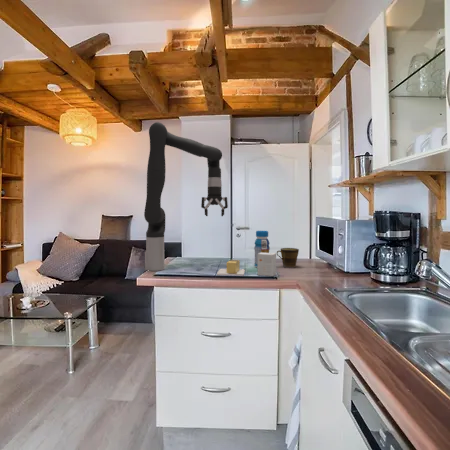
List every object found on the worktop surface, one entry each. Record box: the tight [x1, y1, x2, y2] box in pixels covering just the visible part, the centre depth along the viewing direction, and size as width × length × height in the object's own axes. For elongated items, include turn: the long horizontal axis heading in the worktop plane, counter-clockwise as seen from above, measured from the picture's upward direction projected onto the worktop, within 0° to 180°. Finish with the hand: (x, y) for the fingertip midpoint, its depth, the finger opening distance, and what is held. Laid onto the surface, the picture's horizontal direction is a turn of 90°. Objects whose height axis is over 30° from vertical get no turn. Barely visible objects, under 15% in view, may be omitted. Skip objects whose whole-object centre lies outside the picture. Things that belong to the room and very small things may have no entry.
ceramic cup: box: [276, 247, 300, 269], centre depth 167 cm, size 13×10×10 cm
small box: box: [257, 252, 277, 277], centre depth 146 cm, size 8×6×10 cm
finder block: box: [226, 259, 241, 273], centre depth 150 cm, size 5×9×5 cm, turn 165°
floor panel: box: [216, 268, 246, 277], centre depth 150 cm, size 13×12×1 cm
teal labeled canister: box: [253, 230, 271, 269], centre depth 166 cm, size 8×8×20 cm
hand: (214, 216), depth 164 cm, fingers open, 8 cm apart
